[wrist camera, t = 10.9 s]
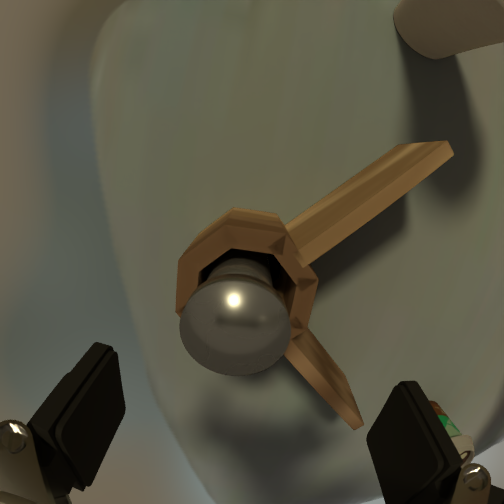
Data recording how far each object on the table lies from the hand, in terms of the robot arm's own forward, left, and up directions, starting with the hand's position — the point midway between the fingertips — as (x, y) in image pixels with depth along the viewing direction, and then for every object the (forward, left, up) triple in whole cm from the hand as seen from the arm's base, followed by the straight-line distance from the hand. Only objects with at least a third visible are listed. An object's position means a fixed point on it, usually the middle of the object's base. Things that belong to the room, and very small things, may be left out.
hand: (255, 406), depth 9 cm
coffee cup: (+8, -26, -16) cm, 31 cm away
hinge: (-5, -5, -16) cm, 17 cm away
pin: (+1, +1, -16) cm, 16 cm away
